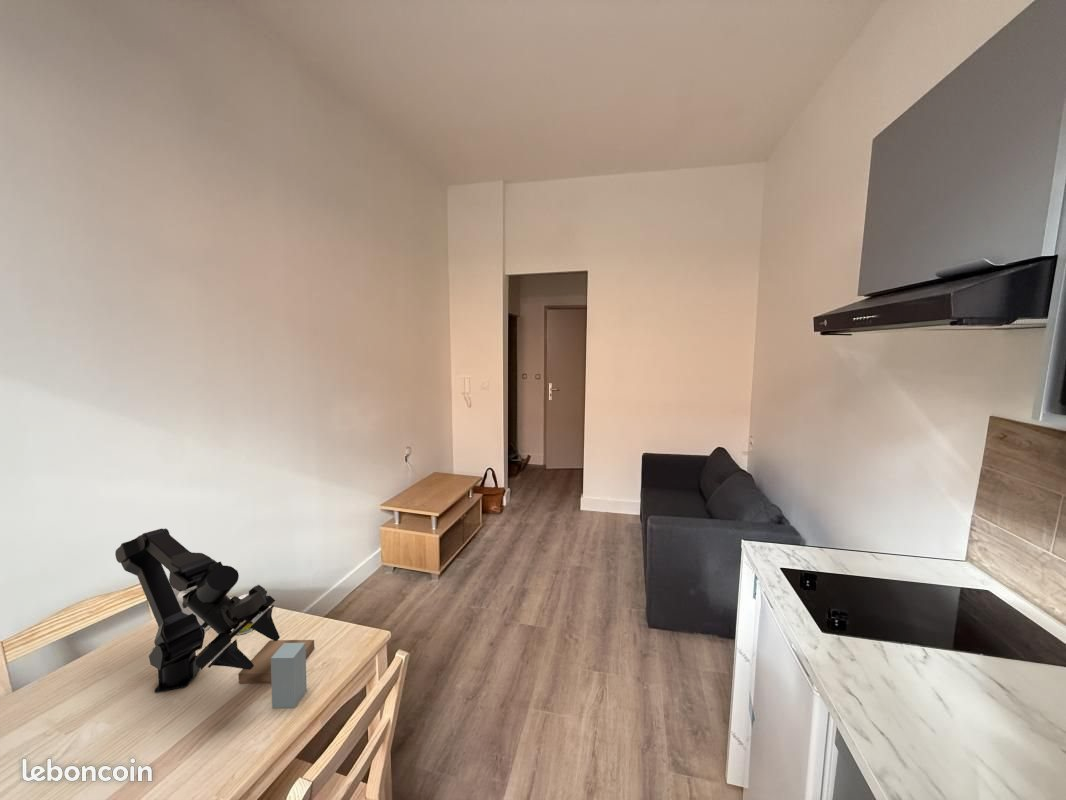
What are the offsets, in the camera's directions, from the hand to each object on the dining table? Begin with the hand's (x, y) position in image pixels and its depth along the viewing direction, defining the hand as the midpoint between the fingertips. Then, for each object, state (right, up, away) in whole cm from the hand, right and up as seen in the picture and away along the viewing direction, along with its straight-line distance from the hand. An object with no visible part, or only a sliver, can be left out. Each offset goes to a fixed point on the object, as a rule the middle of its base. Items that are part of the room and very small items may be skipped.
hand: (265, 653), depth 90 cm
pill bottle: (-38, -10, +25) cm, 47 cm away
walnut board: (-5, -11, +12) cm, 16 cm away
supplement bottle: (-24, -10, +26) cm, 36 cm away
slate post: (+5, -11, +1) cm, 13 cm away
